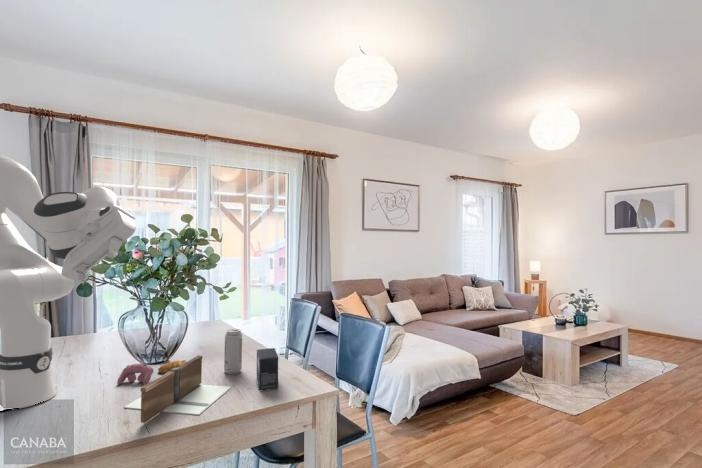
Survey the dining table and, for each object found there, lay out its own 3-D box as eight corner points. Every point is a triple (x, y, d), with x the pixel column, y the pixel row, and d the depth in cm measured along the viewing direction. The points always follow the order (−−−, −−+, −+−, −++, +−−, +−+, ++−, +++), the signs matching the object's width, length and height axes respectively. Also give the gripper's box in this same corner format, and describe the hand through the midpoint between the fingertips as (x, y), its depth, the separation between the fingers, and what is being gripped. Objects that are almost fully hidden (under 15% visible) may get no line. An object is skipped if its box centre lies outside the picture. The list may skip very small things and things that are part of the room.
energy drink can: (224, 369, 138) (225, 328, 138) (241, 368, 140) (242, 328, 140) (223, 375, 132) (224, 333, 133) (241, 374, 134) (242, 332, 134)
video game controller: (151, 386, 126) (156, 364, 129) (145, 385, 122) (150, 362, 125) (121, 386, 126) (127, 364, 129) (114, 384, 122) (120, 362, 125)
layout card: (123, 408, 107) (123, 406, 107) (166, 382, 125) (166, 381, 125) (199, 415, 103) (199, 413, 103) (231, 387, 122) (231, 386, 122)
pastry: (157, 376, 131) (157, 365, 131) (159, 370, 138) (159, 359, 138) (186, 373, 134) (186, 362, 134) (187, 367, 141) (187, 357, 141)
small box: (255, 379, 130) (255, 348, 130) (274, 377, 132) (274, 347, 132) (258, 391, 120) (258, 358, 120) (278, 389, 122) (279, 356, 122)
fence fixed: (168, 404, 109) (169, 370, 109) (196, 385, 124) (197, 354, 124) (175, 405, 109) (176, 370, 109) (202, 385, 123) (203, 355, 123)
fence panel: (140, 422, 97) (140, 387, 97) (169, 402, 109) (169, 371, 109) (145, 423, 97) (146, 388, 97) (174, 402, 109) (174, 371, 109)
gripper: (56, 249, 94) (49, 289, 84) (117, 199, 92) (116, 235, 83) (81, 261, 98) (77, 300, 89) (139, 213, 97) (141, 248, 87)
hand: (96, 268), depth 86 cm, fingers open, 8 cm apart
